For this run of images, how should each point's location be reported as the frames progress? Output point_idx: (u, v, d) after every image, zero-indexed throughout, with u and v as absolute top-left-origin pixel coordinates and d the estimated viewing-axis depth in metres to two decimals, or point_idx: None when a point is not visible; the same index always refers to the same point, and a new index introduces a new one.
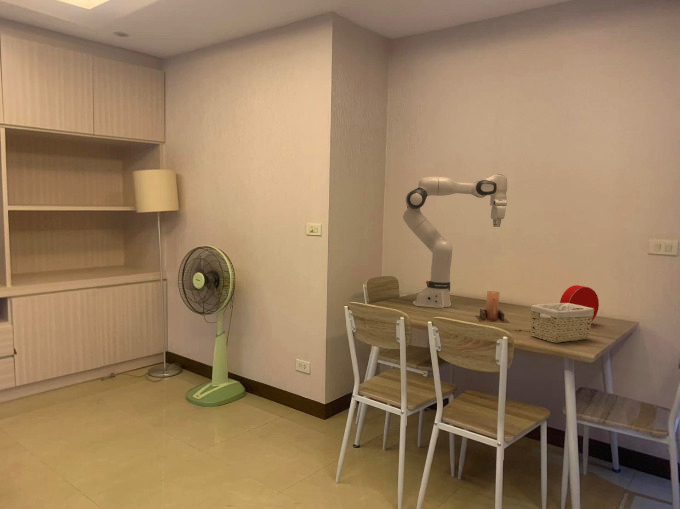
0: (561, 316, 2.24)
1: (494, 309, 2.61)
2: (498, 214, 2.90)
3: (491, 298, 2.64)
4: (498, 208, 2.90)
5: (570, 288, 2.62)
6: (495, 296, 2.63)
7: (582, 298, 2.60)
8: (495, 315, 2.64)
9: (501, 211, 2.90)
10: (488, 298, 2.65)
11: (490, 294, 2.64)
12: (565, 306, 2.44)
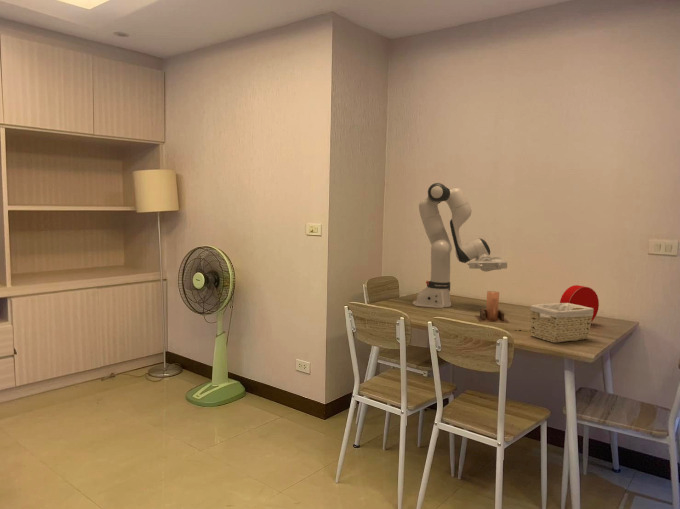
0: (561, 316, 2.25)
1: (494, 309, 2.61)
2: None
3: (491, 298, 2.64)
4: None
5: (570, 288, 2.62)
6: (495, 296, 2.63)
7: (582, 298, 2.60)
8: (495, 315, 2.64)
9: None
10: (488, 298, 2.65)
11: (490, 294, 2.64)
12: (565, 306, 2.44)
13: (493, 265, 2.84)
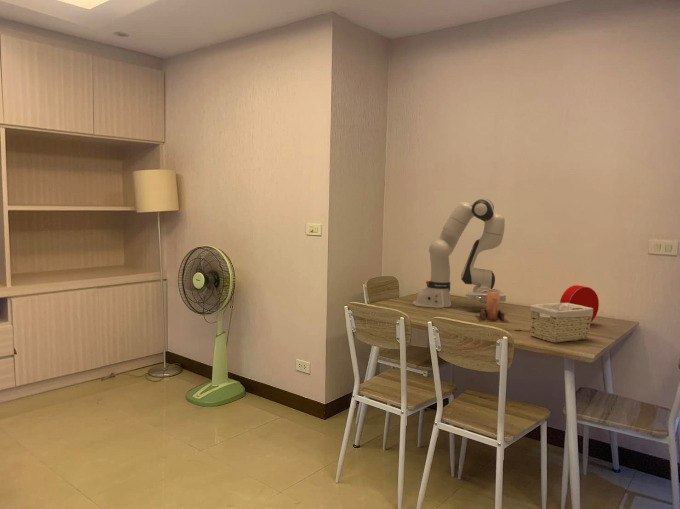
0: (561, 316, 2.25)
1: (494, 309, 2.61)
2: (505, 295, 2.83)
3: (491, 298, 2.64)
4: None
5: (570, 288, 2.62)
6: (495, 296, 2.63)
7: (582, 298, 2.60)
8: (495, 315, 2.64)
9: None
10: (488, 298, 2.65)
11: (490, 294, 2.64)
12: (564, 306, 2.44)
13: None
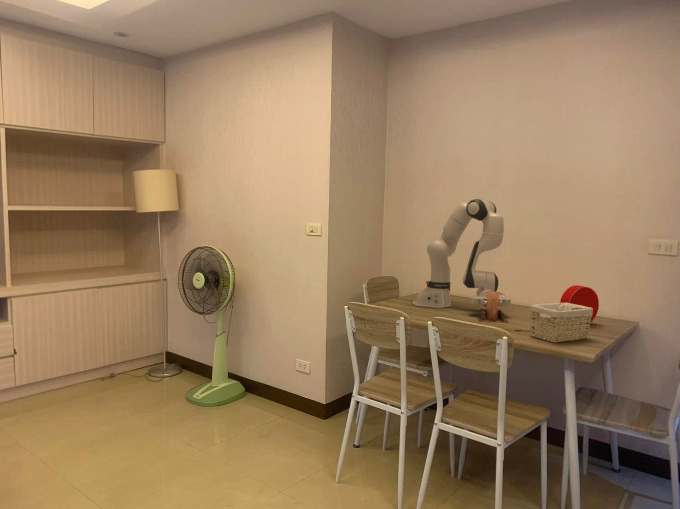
0: (561, 316, 2.25)
1: (494, 309, 2.61)
2: (509, 299, 2.71)
3: (491, 298, 2.64)
4: None
5: (570, 288, 2.62)
6: (495, 296, 2.63)
7: (582, 298, 2.60)
8: (495, 315, 2.64)
9: None
10: (488, 298, 2.65)
11: (490, 294, 2.64)
12: (564, 306, 2.45)
13: None
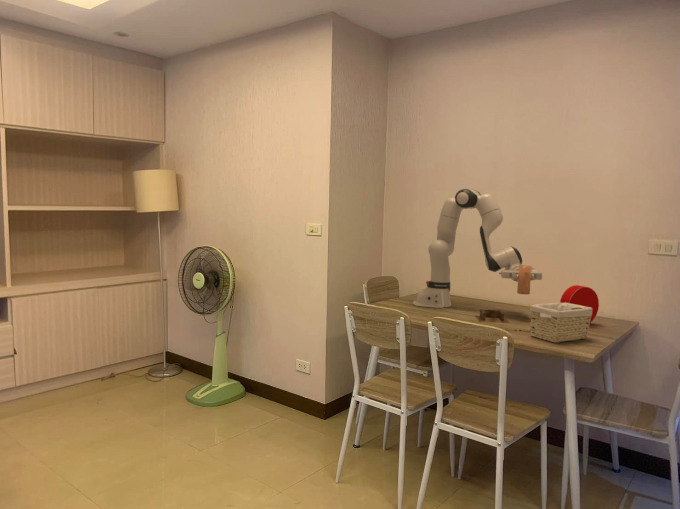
0: (562, 316, 2.25)
1: (526, 283, 2.58)
2: None
3: (523, 272, 2.61)
4: None
5: (570, 288, 2.62)
6: (527, 270, 2.60)
7: (582, 298, 2.60)
8: (527, 289, 2.61)
9: None
10: (520, 272, 2.62)
11: (522, 268, 2.61)
12: (563, 306, 2.45)
13: None
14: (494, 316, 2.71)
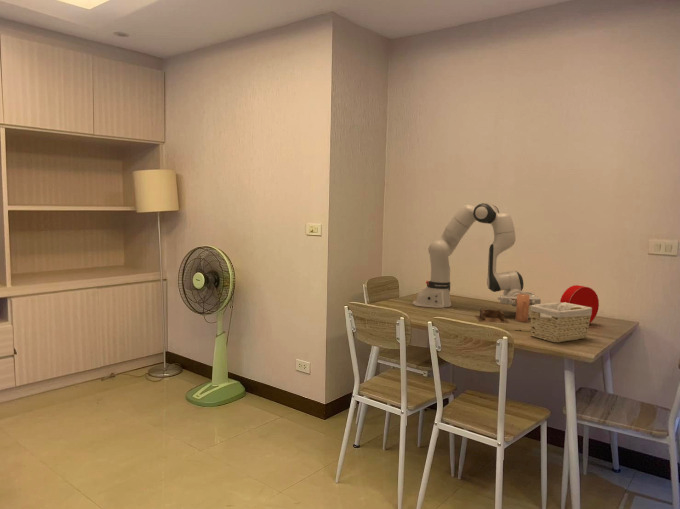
0: (562, 316, 2.25)
1: (524, 312, 2.60)
2: None
3: (521, 301, 2.62)
4: None
5: (570, 288, 2.62)
6: (525, 299, 2.62)
7: (582, 298, 2.60)
8: (525, 318, 2.63)
9: None
10: (518, 301, 2.64)
11: (520, 297, 2.62)
12: (562, 306, 2.45)
13: None
14: (494, 316, 2.71)
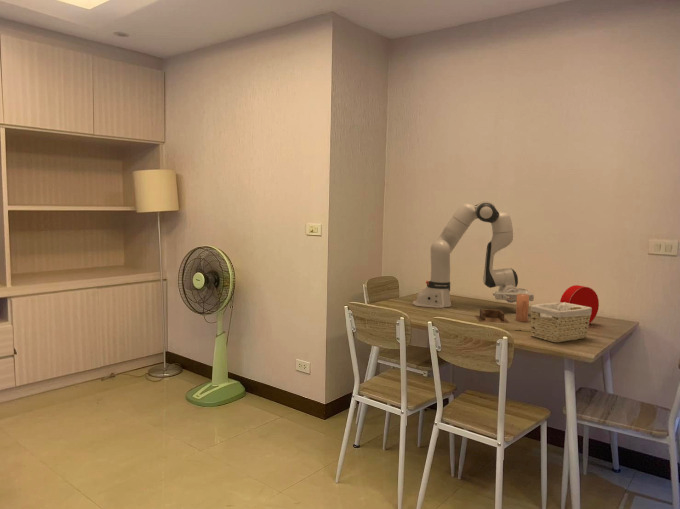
0: (562, 316, 2.25)
1: (524, 312, 2.60)
2: None
3: (521, 300, 2.62)
4: None
5: (570, 288, 2.62)
6: (525, 298, 2.62)
7: (582, 298, 2.60)
8: (525, 318, 2.63)
9: None
10: (518, 301, 2.64)
11: (520, 296, 2.63)
12: (562, 305, 2.45)
13: None
14: (494, 316, 2.71)
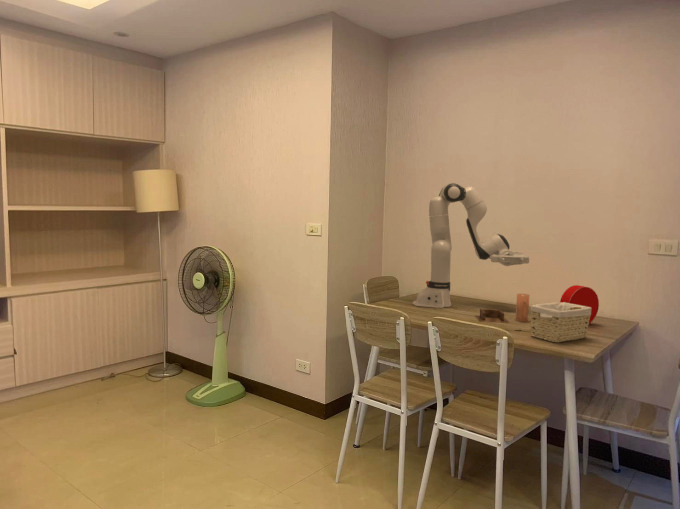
0: (563, 316, 2.25)
1: (524, 312, 2.60)
2: None
3: (521, 301, 2.62)
4: None
5: (570, 288, 2.62)
6: (525, 299, 2.62)
7: (582, 298, 2.60)
8: (525, 318, 2.63)
9: None
10: (518, 301, 2.63)
11: (520, 297, 2.62)
12: (562, 305, 2.45)
13: (515, 259, 2.86)
14: (494, 316, 2.71)
